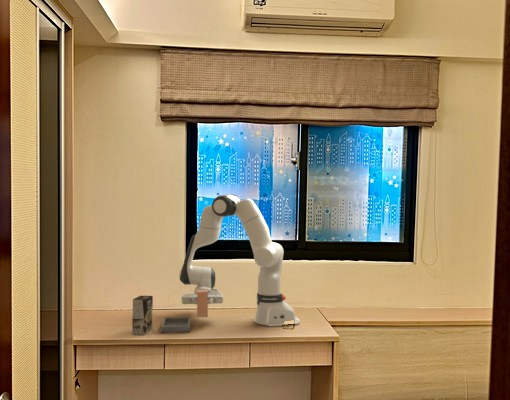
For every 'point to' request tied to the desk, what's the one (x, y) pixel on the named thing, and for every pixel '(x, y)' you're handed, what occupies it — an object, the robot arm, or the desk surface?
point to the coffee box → (142, 315)
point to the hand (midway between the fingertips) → (202, 302)
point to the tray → (176, 325)
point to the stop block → (202, 303)
